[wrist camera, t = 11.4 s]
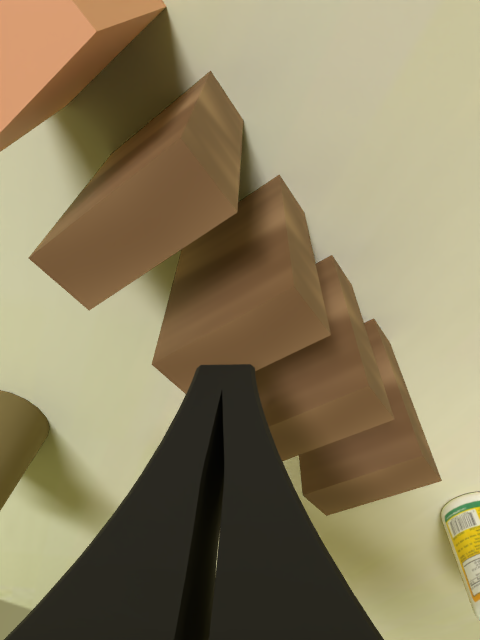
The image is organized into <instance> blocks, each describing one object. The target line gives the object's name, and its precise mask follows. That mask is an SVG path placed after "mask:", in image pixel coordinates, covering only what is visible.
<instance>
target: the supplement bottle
mask: <svg viewBox="0 0 480 640" xmlns="http://www.w3.org/2000/svg"><path fill="white" fill-rule="evenodd" d="M441 518H442V522H443V525H444V528H445V530H446V533H447V536H448V539H449V542H450V545H451V548H452V551H453V553H454V556H455V559H456V562H457V565H458V568H459V571H460V574H461V576H462V579H463V582H464V585H465V588H466V591H467V594H468V597H469V600H470V603H471V606H472V608H473V611H474V613H475V615H476V617H477V618H478V620H479V621H480V492H473V493H468V494H464V495H462V496H459V497H457V498H455V499H453V500H451V501H450V502H448V503H447V504H446V505H445V506H444V508H443V510H442V512H441Z"/></svg>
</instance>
